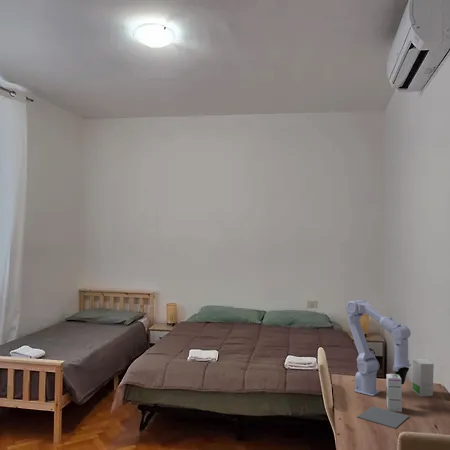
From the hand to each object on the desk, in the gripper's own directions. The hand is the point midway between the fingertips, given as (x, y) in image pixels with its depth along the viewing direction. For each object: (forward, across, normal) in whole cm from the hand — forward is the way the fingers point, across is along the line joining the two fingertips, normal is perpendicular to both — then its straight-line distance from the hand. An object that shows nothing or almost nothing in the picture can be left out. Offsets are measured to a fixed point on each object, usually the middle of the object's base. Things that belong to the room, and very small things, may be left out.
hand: (401, 383), depth 205 cm
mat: (+9, -20, 0) cm, 22 cm away
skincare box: (+9, +20, -3) cm, 22 cm away
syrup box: (+9, -8, 0) cm, 12 cm away
